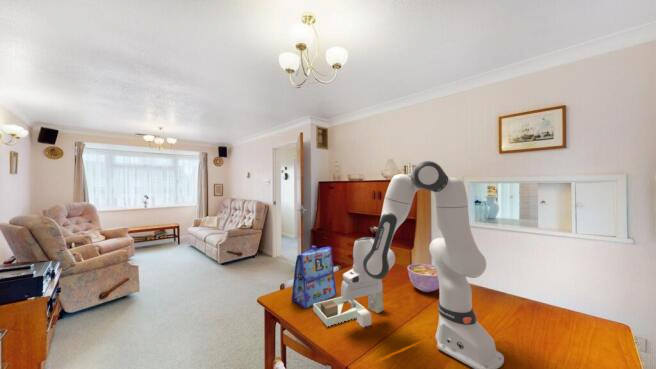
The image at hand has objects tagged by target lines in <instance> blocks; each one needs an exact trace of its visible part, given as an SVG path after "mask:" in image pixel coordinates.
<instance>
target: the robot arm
mask: <svg viewBox="0 0 656 369" xmlns="http://www.w3.org/2000/svg"><path fill="white" fill-rule="evenodd" d="M419 190H425V191H429V192H430V191H431V192H433V193H434V197H435V206H436V223H437V224H436V225H437V228H438V230H439V231H440V233H441V234H442V237H436V238H434V239H433V240H432V241H431V242H430V243H429V248H428V249H429V254H430V256H431V257H432V260H433V263H434V266H435V267H436V271H437V275H438V280H439V288H438V289H439V290H438V292H439V300H438V302H437V303H438V305H437V308H438V309H437V310H438V311H437V312H438V316H439V317H438V322H437V323H438V324H437V329H436V333H435V336H434V337H435V338H434V339H435V341H436V342H437V345H436V347H437V349H439V350H440V351H441V352H443V353H445V354H447V355H449V356H451V357H453V358H455V359H456V360H458V361H460V362H462V363H463V364H466V365H467V366H468V367H471V368H472V369H499V368H501V367H502V366H503V365H504V362H505V357H504V354H502V353H501V352H499V351H498V350H497V348H496V344H495V341H494V338H493V337H492V336H491V335H490V334H489V333H488V332H487V331H486V329H485V328H484V327H483V326H482V324H480V322H478V320H477V318H479V315H480V313H475V311H474V308H473V306H472V286H471V284H470V282H469V280H468V279H467V278H470V279H476V278H480V276H482V275H483V274H484V273H485V271H486V268H487V260H486V258H485V255H484V254H483V253H482V252H481V251H480V249H479V248H478V246H477V243H476V241H475V238H474V235H473V233H472V230H471V225H470V216H469V202H468V200H469V199H468V196H467V191H466V186H465V183H464V181H463V180H461V179H460V178H458V177H453V176H451V177H450V176H448V175H447V174H446V172H445V171H444V169H443V168H442V166H440V165H439V163H436V162H434V161H431V160H426V161H422V162H420V163H418V164H417V165H416V166H415V167H414V169H413V170H412V171H411V172H410V173H409V174H406V173H399V174H395V175H394V176H393V177H392V178H391V180H390V182H389V184H388V187H387V190H386V192H385V195H384V200H383V204H382V209H381V215H380V219H379V224H378V228H377V230H376V234H375V237H374V239H373V238H371V237H369V236H366V237H365V236H363V237H360V238H357V239H356V240H355V241H354V244H353V249H352V258H353V265H352V268H351V269H349V270H348V271H346V272H344V273H342V278H343V280H342V282H341V287H340V297H343V298H344V299H345V300H349V301H350V303H351V304H350V303H349V304H350V308H355V307H356V304H355V303H354V302H353V301H354V300H355V299H358V298H361V297H366V296H368V295H370V294H371V296H370V298H368V297H367V299H368V300H367V301H368V302H369V303H370V304H371V303H373V299H374V297H375V293H379V292H381V291H382V286H383V281H382V279H385V277H386V276H387V275H388V273H389V271H390V270H391V269H392V267H393V266H394V264H395V263H396V255H395V252H394V251H393V249H391V248H390V247H391V245H392V242H393V241H392V240H393V238H394V235H395V234H396V231H397V230H398V228H399V227H400V226H401V225H402V224H403V223H404V222H405V221H406V219H407V217H408V216H409V213H410V212H411V207H412V204H413V201H414V197H415V195H416V193H417V192H418V191H419ZM368 302H367V303H368Z"/></svg>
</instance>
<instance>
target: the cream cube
mask: <svg viewBox="0 0 656 369" xmlns="http://www.w3.org/2000/svg"><path fill="white" fill-rule="evenodd" d="M357 322H358V323H359V326H361V327H362V328H365V326H366V327H369V326H371V325H372V313H371V312H370V311H369V310H368V309H366V308H365V309H363V310H359V311H357V318H356V323H357ZM358 323H357V324H358Z"/></svg>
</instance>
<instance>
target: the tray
mask: <svg viewBox="0 0 656 369" xmlns="http://www.w3.org/2000/svg"><path fill="white" fill-rule="evenodd" d="M330 300H332V301H334V302H335V303H336V304H337V305H338V315H336V316H332V317H329V318H327V317H326V316H325V315H324V314H323V313H322V312H321V303H322V302H326V301H330ZM322 302H318V303H314V304H313V306H312V311H313V312H314V314H316V315H317V317H318V318H319V320H321V321H322V322H323V325H324V324H325V325H326V326H327V327H326V326H325V325H324V326H325V327H326V328H328V326H329V327H332V326H331V325H333V326H335V325H334V324H336V325H339V324H341V322H342V323H345V322H344V321H346V322H348V320H349V321H352V320H355V319H357V311H359V310H363V309H366V308H365V306H363V305H362V304H360V303H359V302H358V301H357V300H355V299H354V301H353V302H354V303H355V304H356V307H355V308H352V307H350V308H349V309H348V310H346V311H344V312H342V310H343V306H344V303H347V302H348V303H349V304H350V305H351V303H350V301H349V300H345V299H344V298H343V297H342V296H339V297H335V298H334V297H333V298H329V299H326V300H324V301H322ZM354 318H355V319H354ZM351 319H352V320H351ZM338 323H339V324H338Z"/></svg>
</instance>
